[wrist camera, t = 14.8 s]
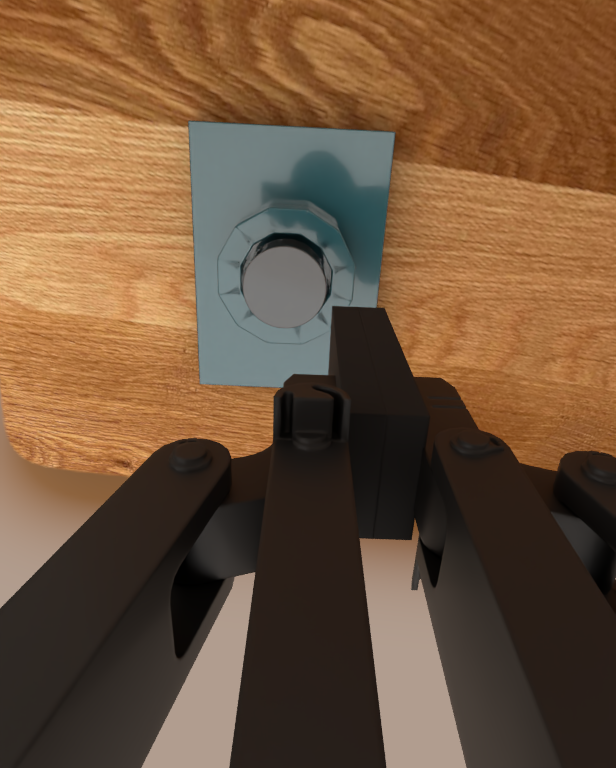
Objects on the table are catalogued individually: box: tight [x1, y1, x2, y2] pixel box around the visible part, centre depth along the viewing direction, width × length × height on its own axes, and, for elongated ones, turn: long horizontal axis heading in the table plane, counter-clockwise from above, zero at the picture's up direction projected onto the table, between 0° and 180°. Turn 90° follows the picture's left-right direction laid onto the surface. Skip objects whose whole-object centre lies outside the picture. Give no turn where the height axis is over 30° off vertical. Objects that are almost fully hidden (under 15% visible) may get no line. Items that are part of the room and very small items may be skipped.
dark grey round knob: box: [242, 238, 327, 328], centre depth 26 cm, size 4×4×2 cm
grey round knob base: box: [188, 121, 395, 388], centre depth 28 cm, size 14×10×4 cm
